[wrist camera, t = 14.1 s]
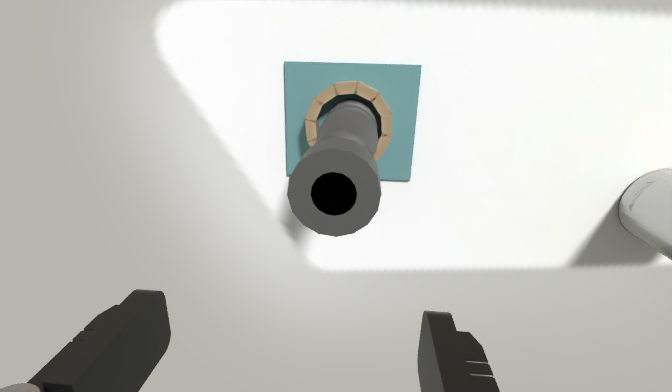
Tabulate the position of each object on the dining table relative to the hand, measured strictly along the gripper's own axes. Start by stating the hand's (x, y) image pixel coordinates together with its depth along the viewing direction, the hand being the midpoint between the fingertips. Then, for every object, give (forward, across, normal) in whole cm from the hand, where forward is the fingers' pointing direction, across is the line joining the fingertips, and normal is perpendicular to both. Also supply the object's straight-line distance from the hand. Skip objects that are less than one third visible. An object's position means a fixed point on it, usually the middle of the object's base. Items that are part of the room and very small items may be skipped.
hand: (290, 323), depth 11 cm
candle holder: (+37, 0, 0) cm, 37 cm away
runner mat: (+37, 0, 0) cm, 37 cm away
